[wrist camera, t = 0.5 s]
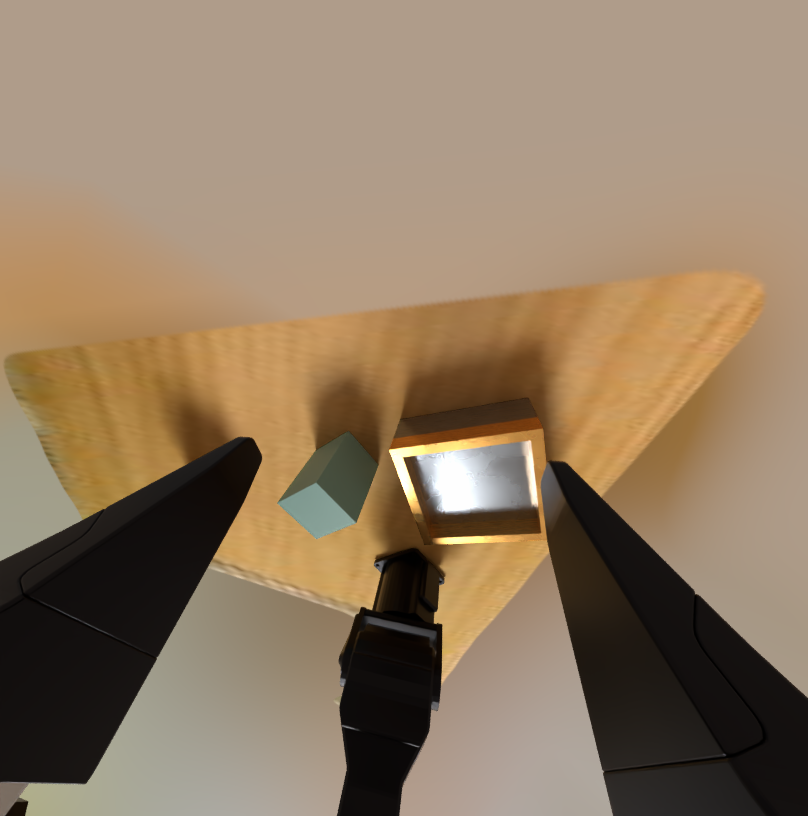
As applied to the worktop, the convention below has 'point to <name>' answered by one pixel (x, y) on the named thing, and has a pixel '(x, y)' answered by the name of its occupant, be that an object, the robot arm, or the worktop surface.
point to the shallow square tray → (474, 473)
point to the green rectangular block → (331, 487)
